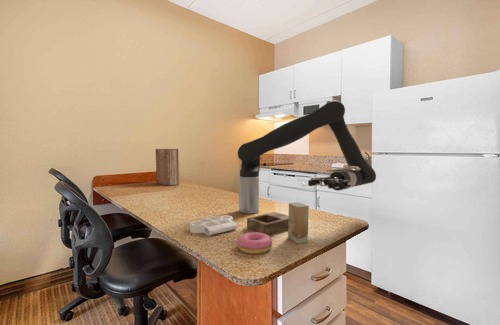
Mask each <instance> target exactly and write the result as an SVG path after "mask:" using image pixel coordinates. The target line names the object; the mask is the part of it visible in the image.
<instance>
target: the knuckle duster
mask: <svg viewBox="0 0 500 325" xmlns="http://www.w3.org/2000/svg"><path fill="white" fill-rule="evenodd" d="M237 229H238V225H237V223H236V222H235V221H234V218H233V216H232V215H228V214H226V215H219V216H217V215H216V216H214V215H213V216H209V217H203V218H200V219H198V220H194V221H190V223H189V232H190V233H192V234H204V235H206V236H208V237H210V236H213V235H217V234H221V233H225V232H229V231H235V230H237Z"/></svg>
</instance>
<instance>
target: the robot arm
mask: <svg viewBox="0 0 500 325" xmlns="http://www.w3.org/2000/svg"><path fill="white" fill-rule="evenodd" d="M345 107H346V106H344V104H343V103H342V102H341V101H339V100H330V101H328V102H326V103H325V104H324V105H322V106H321V107H319V108H318V109H316V110H314V111H312V112H311V113H308V114H305V115H303V116H301V117H298V118H294V119H293V120H290V121H288V122H286V123H284V124H282V125H280V126H278V127H276V128H275V129H272V130H271V131H269V132H267V133H266V134H265V135H262V136H261V137H258V138H255V139H253V140H251V141H248V142H245V143H243V144H241V145H240V146H239V148H238V151H237V157H238V159H239V160H240V161H241V166H240V169H239V191H238V211H239V212H240V213H243V214H256V213H258V212H259V211H260V169H261V156H262V155H264V154H266V153H268V152H270V151H273V150H274V151H275V150H277V149H279V148H284V147H285V146H288V145H291V144H293V143H295V142H297V141H298V140H301V139H302V138H304V137H306V136H307V135H309V134H310V133H312V132H314V131H315V130H318V129H320V128H322V127H325V126H326V125H327V126H329V128H330V129H331V131H332V133H333V134H334V137H335V138H336V141H337V143H338V145H339V147H340V150H341V152H342V155H343V157H344V158H345V161H346V163H347V165H348V166H349V167H357V168H359V169H349V170H337V171H333V172H331V174H329V176H324V177H323V176H319V177H318V176H317V177H311V178H310V179H309V180H308V182H307V184H308V187H313V186H319V187H327V188H328V189H330V190H331V189H332V190H335V191H337V192H340V191H344V190H348V189H351V188H353V187H358V186H362V185H367V184H372V183H374V182H375V181H376V178H377V174H376V171H375V170H374V168H373V167H372V166H371V165H370V163H369V162H368V161H367V160H366V158H364V156H363V154H362V152H361V149H360V147H359V144H357V142H356V140H355V138H354V137H353V136H352V133H351V132H350V131H349V128H348V126H347V124H346V121H345V119H344V118H345V117H344V116H345V114H346V108H345Z"/></svg>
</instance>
